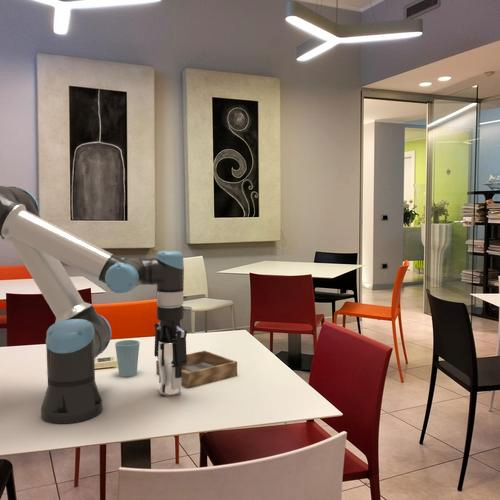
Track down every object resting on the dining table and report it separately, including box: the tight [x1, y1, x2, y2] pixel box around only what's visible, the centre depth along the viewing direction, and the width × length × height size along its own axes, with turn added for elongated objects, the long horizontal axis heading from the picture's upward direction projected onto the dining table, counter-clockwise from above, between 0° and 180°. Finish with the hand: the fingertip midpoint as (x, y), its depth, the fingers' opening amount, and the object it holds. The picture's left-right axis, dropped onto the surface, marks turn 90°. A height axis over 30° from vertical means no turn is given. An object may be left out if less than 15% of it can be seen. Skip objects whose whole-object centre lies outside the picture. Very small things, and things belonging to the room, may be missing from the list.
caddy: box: [155, 350, 238, 389], centre depth 166 cm, size 19×18×4 cm
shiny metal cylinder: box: [157, 338, 182, 396], centre depth 148 cm, size 7×7×15 cm
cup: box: [114, 339, 141, 378], centre depth 166 cm, size 8×8×10 cm
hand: (170, 385), depth 148 cm, fingers closed on shiny metal cylinder, 6 cm apart
